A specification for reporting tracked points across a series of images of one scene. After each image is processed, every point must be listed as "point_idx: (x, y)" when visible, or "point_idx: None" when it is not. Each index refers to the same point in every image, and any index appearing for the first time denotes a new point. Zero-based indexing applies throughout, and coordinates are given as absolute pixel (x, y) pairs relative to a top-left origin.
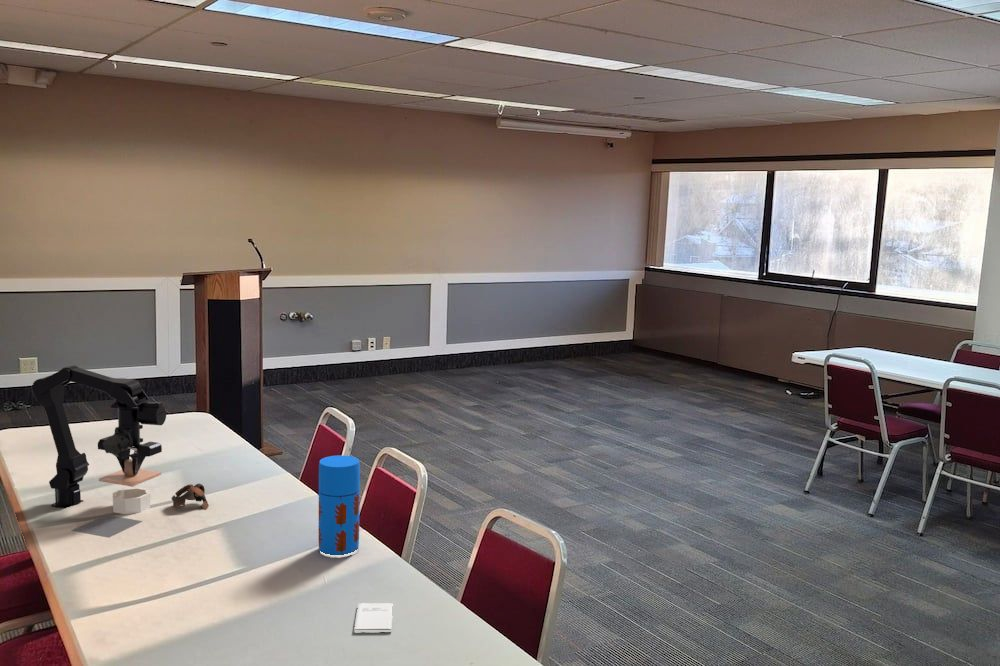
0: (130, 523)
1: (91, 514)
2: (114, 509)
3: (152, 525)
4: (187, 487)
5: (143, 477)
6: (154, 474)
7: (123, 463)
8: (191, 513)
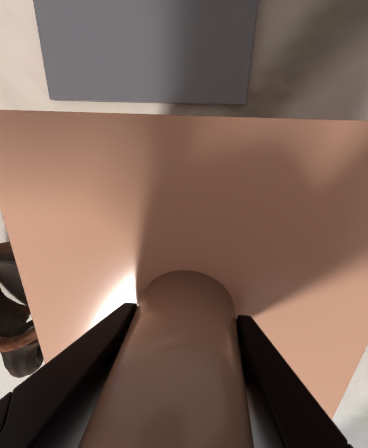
0: (70, 50)
1: (327, 103)
2: None
3: (8, 95)
4: (10, 337)
5: (57, 295)
6: (50, 359)
7: (272, 441)
8: (3, 242)
